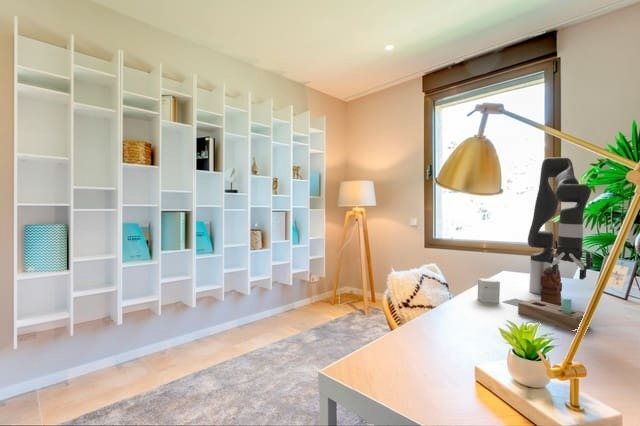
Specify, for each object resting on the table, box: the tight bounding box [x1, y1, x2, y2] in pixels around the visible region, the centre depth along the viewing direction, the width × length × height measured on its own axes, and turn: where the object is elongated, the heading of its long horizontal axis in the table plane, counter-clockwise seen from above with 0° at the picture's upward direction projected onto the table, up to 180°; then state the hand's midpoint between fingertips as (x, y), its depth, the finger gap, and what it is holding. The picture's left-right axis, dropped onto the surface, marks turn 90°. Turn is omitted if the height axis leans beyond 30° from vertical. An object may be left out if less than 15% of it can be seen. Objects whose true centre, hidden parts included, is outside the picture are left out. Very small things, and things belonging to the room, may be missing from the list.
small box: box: [477, 278, 501, 304], centre depth 150 cm, size 8×6×10 cm
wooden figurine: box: [540, 266, 563, 306], centre depth 146 cm, size 12×6×18 cm, turn 125°
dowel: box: [561, 297, 573, 314], centre depth 123 cm, size 3×3×10 cm
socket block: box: [517, 298, 585, 332], centre depth 127 cm, size 12×20×5 cm, turn 30°
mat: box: [502, 298, 525, 308], centre depth 147 cm, size 12×12×1 cm
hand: (568, 276), depth 122 cm, fingers open, 8 cm apart
